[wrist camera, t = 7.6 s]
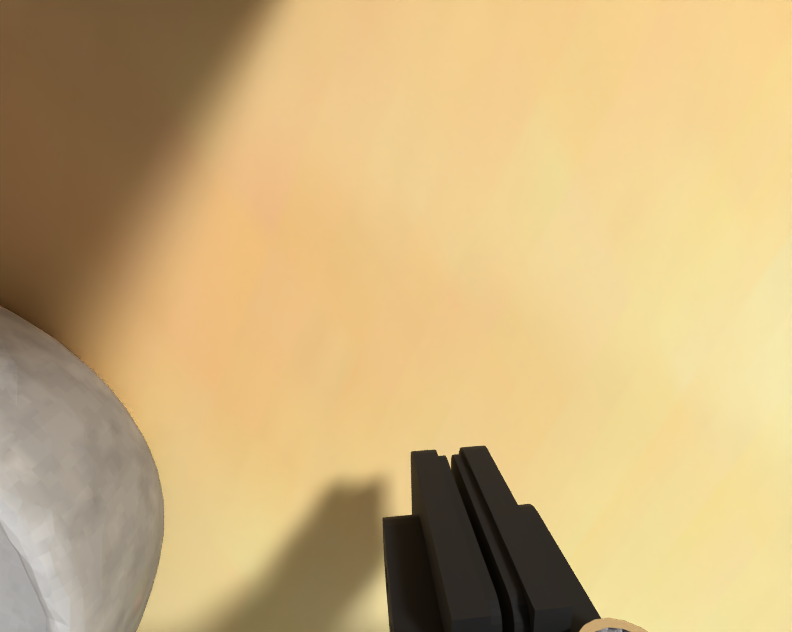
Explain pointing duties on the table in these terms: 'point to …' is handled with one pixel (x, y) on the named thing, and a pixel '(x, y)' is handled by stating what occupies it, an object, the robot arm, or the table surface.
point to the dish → (71, 494)
